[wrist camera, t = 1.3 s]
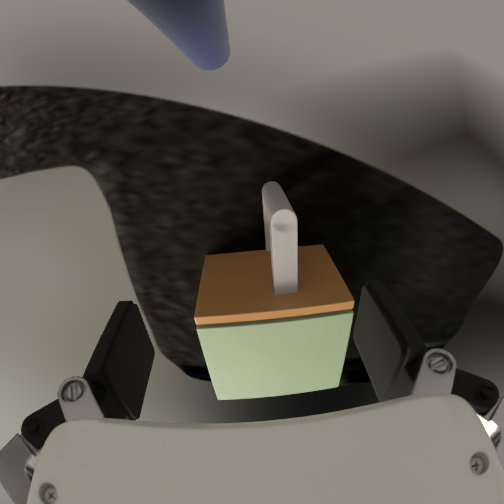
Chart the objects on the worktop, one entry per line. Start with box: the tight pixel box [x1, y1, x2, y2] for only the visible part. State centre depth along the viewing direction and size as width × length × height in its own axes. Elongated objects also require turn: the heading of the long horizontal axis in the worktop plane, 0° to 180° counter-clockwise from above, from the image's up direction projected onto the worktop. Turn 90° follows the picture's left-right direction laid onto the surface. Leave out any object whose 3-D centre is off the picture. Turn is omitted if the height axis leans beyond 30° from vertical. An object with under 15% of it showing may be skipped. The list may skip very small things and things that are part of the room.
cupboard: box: [197, 309, 353, 400], centre depth 29 cm, size 10×12×13 cm
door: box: [194, 181, 354, 325], centre depth 25 cm, size 8×12×13 cm, turn 95°
